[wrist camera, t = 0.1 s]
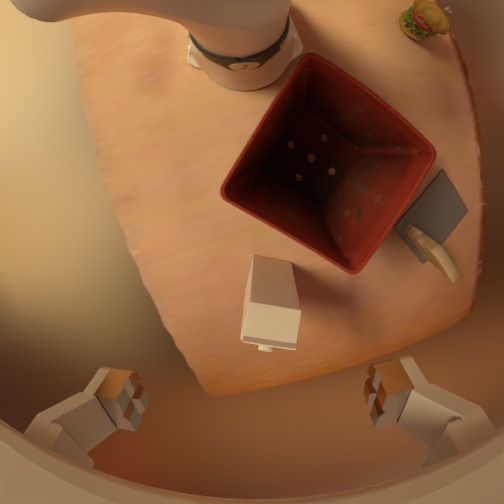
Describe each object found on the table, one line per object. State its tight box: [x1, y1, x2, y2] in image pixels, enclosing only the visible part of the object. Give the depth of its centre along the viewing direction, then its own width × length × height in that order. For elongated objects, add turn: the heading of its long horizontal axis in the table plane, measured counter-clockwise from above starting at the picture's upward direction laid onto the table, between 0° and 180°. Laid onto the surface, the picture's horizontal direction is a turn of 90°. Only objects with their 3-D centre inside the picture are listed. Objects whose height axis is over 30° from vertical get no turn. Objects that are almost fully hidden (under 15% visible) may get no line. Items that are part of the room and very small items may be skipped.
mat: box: [393, 169, 468, 264], centre depth 44 cm, size 16×12×1 cm
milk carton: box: [240, 256, 301, 352], centre depth 42 cm, size 7×7×19 cm
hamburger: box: [399, 0, 452, 41], centre depth 24 cm, size 8×7×12 cm
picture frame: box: [404, 223, 460, 283], centre depth 40 cm, size 2×8×12 cm, turn 51°
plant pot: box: [220, 53, 436, 275], centre depth 34 cm, size 19×19×17 cm
